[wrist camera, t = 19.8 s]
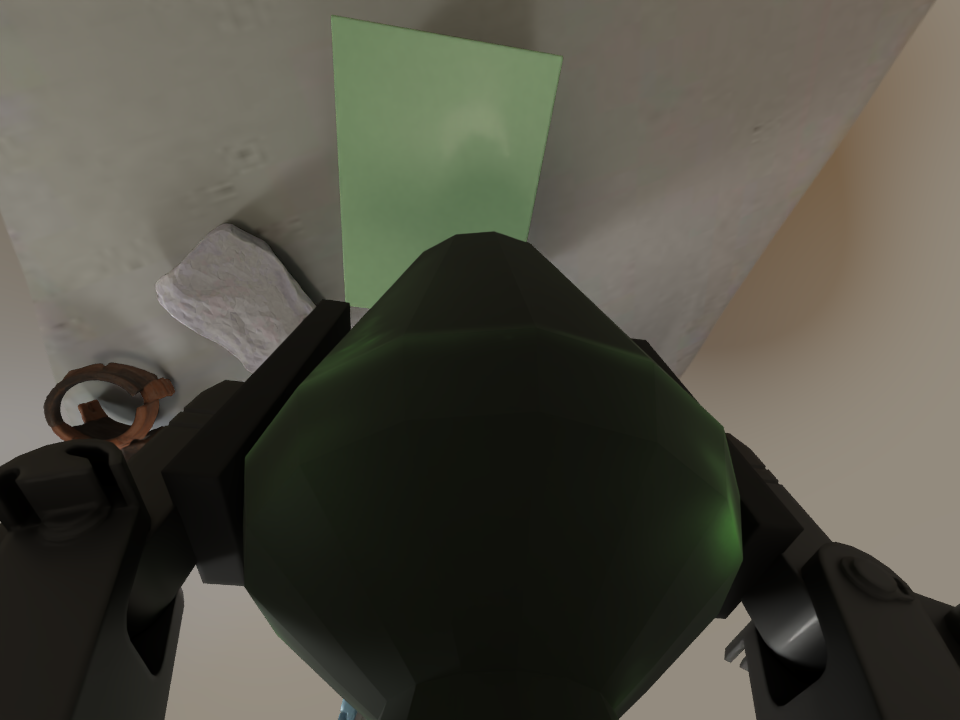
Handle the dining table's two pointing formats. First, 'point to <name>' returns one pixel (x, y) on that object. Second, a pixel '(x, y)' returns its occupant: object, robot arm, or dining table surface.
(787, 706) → the robot arm
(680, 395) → the potion bottle
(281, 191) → the dining table surface
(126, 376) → the brown curved loop piece
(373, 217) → the chest lid
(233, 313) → the stone block
